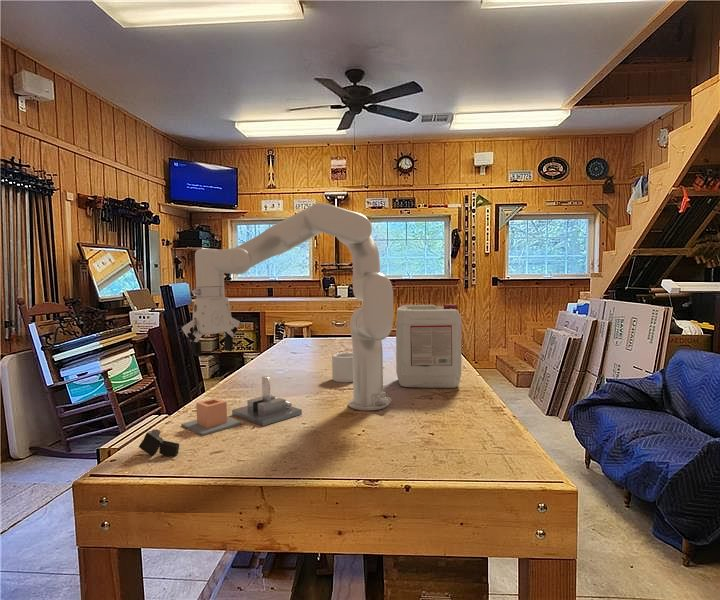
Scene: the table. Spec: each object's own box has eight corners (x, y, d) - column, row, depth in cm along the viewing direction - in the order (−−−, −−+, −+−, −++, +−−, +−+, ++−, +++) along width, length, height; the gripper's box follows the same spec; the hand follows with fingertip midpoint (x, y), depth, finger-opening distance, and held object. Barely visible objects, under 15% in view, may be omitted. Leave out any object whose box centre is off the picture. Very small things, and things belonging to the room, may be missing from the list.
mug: (359, 382, 178) (358, 357, 177) (331, 383, 178) (330, 357, 178) (360, 374, 192) (359, 350, 191) (334, 375, 192) (333, 351, 191)
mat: (241, 424, 132) (241, 422, 132) (202, 435, 123) (202, 433, 123) (219, 415, 140) (219, 413, 140) (181, 425, 131) (181, 423, 131)
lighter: (173, 463, 112) (184, 444, 111) (168, 467, 110) (179, 448, 109) (143, 443, 113) (154, 424, 112) (138, 447, 110) (149, 427, 110)
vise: (301, 414, 140) (300, 376, 139) (263, 426, 130) (261, 385, 129) (270, 404, 151) (269, 369, 150) (232, 414, 141) (230, 377, 140)
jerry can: (457, 377, 184) (457, 302, 182) (463, 389, 165) (463, 306, 163) (397, 377, 186) (396, 302, 184) (396, 389, 168) (395, 306, 166)
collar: (227, 422, 132) (226, 401, 131) (207, 428, 127) (206, 406, 127) (216, 418, 136) (215, 398, 136) (197, 423, 132) (196, 402, 131)
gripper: (187, 295, 122) (191, 359, 123) (244, 291, 134) (247, 350, 135) (174, 294, 127) (177, 356, 128) (230, 291, 139) (232, 347, 140)
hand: (213, 353), depth 132 cm, fingers open, 9 cm apart
